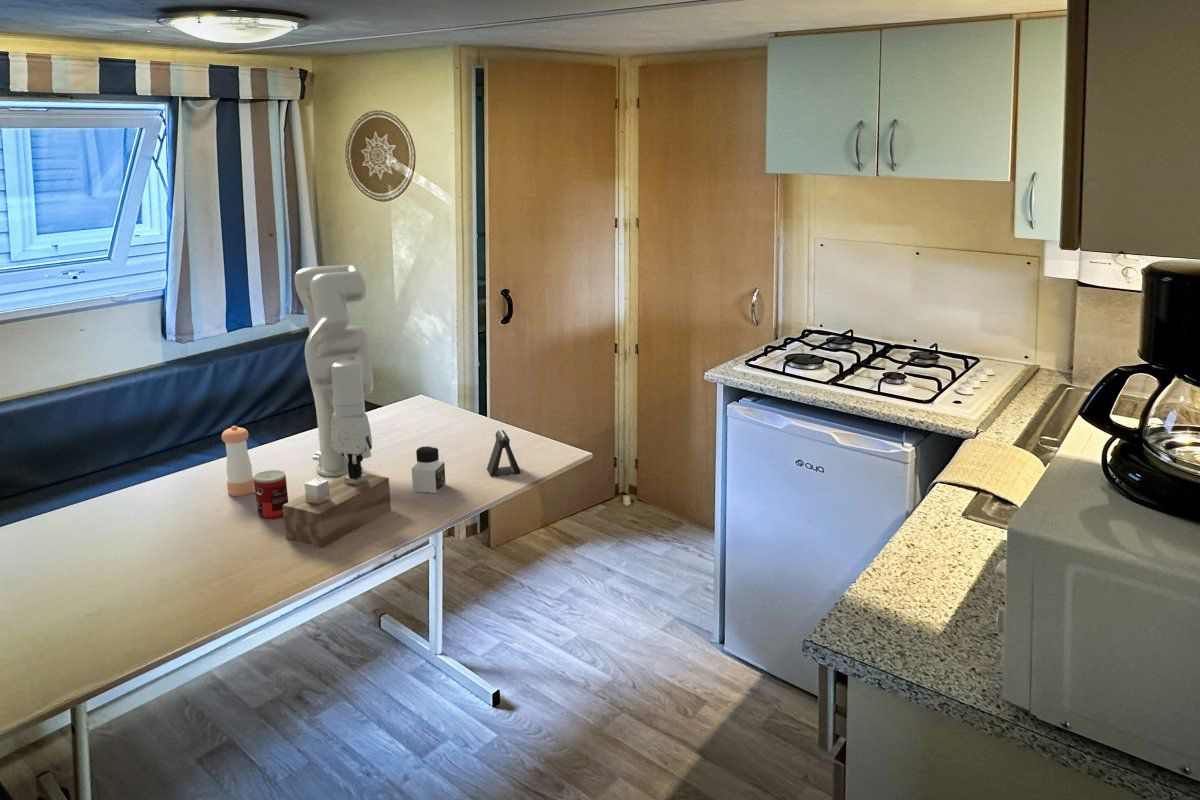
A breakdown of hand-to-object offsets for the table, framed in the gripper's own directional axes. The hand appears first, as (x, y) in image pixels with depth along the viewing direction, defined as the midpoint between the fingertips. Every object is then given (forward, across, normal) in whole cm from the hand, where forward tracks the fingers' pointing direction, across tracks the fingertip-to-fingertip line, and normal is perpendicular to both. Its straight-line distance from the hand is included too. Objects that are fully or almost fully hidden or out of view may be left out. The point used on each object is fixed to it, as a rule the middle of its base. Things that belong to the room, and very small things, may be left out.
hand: (355, 476), depth 250 cm
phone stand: (+11, +18, +43) cm, 48 cm away
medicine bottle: (+11, +6, +23) cm, 26 cm away
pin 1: (+5, 0, -14) cm, 15 cm away
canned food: (+11, -20, -10) cm, 25 cm away
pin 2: (+8, 0, 0) cm, 8 cm away
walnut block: (+11, 0, -7) cm, 13 cm away
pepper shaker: (+11, -40, -2) cm, 42 cm away
